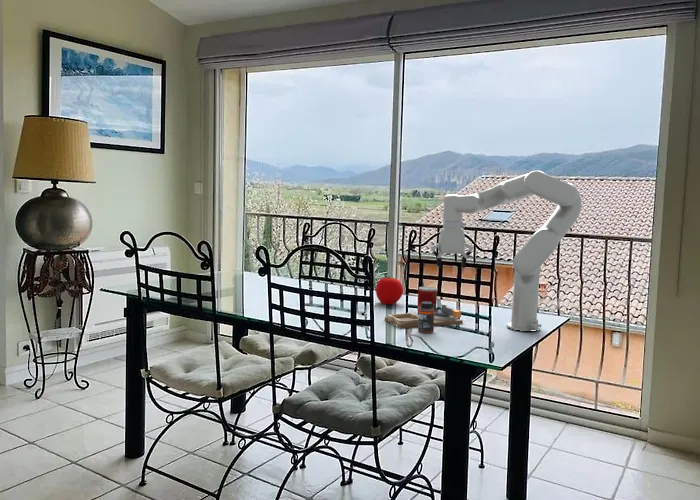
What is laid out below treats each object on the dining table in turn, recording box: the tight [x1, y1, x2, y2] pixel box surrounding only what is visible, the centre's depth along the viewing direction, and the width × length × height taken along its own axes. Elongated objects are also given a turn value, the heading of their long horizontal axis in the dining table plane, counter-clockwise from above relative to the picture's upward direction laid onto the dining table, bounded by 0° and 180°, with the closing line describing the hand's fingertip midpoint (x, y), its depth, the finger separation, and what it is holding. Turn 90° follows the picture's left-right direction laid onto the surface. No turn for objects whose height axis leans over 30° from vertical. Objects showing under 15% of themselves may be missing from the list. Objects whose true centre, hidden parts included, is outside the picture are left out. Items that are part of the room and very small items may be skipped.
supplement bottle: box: [417, 301, 435, 334], centre depth 240 cm, size 6×6×11 cm
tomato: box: [375, 275, 404, 305], centre depth 288 cm, size 12×12×13 cm
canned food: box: [417, 286, 438, 314], centre depth 270 cm, size 8×8×11 cm
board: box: [384, 312, 464, 329], centre depth 256 cm, size 14×29×3 cm, turn 113°
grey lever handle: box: [434, 303, 462, 319], centre depth 255 cm, size 15×7×4 cm, turn 23°
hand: (451, 267), depth 257 cm, fingers open, 9 cm apart
